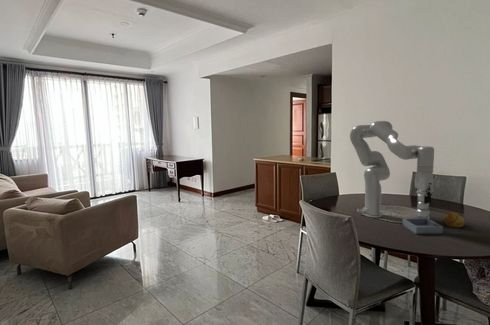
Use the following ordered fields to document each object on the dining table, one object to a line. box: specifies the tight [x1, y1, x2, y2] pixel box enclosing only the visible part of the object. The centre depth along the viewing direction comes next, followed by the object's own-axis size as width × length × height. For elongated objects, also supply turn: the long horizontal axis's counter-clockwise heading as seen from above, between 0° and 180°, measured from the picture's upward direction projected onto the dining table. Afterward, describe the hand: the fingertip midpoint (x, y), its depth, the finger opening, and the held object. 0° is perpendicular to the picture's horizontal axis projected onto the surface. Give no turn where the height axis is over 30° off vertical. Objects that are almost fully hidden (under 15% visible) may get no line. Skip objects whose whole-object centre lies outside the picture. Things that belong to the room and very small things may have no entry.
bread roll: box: [442, 211, 466, 228], centre depth 165 cm, size 13×10×8 cm
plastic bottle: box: [415, 189, 431, 219], centre depth 157 cm, size 6×7×20 cm
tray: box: [401, 217, 444, 235], centre depth 159 cm, size 14×14×4 cm
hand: (423, 201), depth 157 cm, fingers closed on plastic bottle, 6 cm apart
